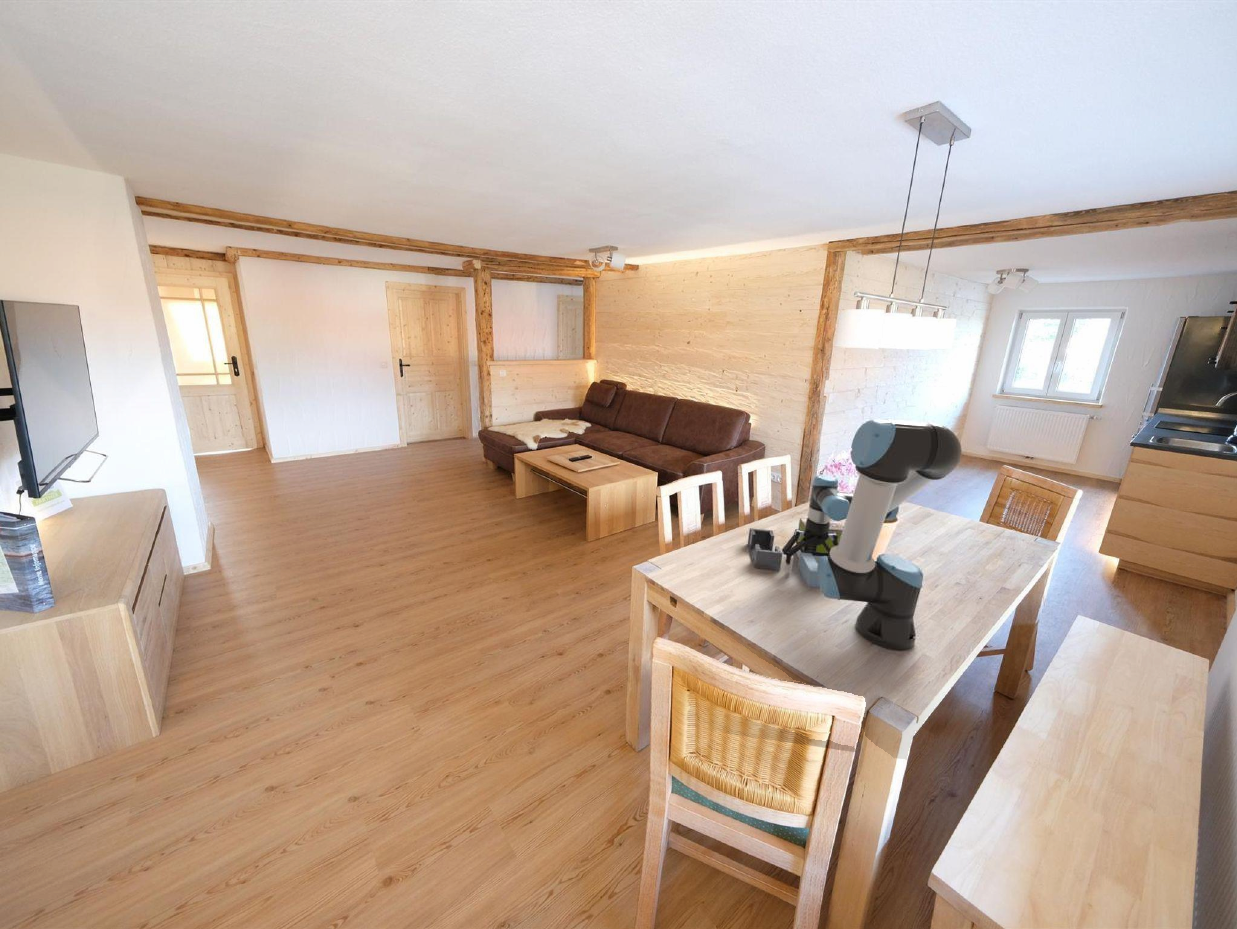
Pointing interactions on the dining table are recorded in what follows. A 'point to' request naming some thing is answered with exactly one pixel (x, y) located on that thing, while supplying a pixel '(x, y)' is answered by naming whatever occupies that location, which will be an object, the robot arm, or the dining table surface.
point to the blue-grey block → (809, 569)
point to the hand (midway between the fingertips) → (808, 574)
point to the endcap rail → (764, 550)
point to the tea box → (820, 550)
